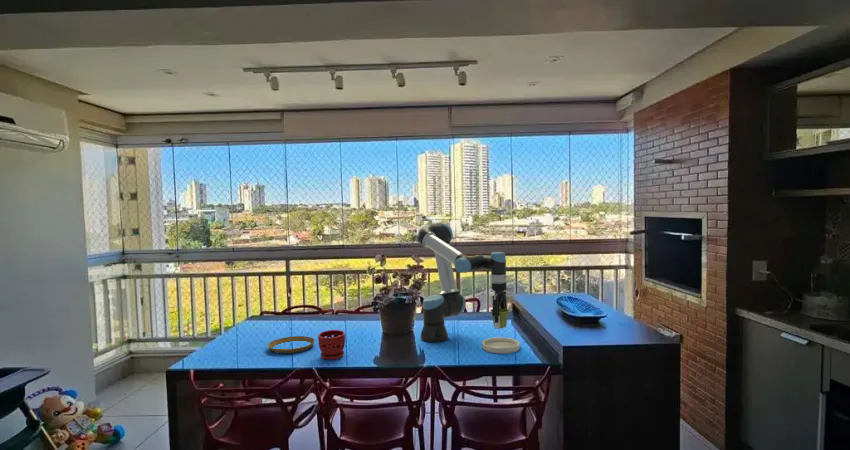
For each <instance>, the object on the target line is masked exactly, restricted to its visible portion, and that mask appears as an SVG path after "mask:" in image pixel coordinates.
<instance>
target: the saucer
mask: <svg viewBox="0 0 850 450" xmlns="http://www.w3.org/2000/svg"><path fill="white" fill-rule="evenodd" d="M520 348H521V343H520V341H519V340H517V339H515V338H511V337H499V336H498V337H497V336H496V337H489V338H486V339H484V340H482V341H481V349H482V350H483V351H485V352H487V353H493V354H502V355H503V354H512V353H515V352H518V351H519V350H520Z"/></svg>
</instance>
